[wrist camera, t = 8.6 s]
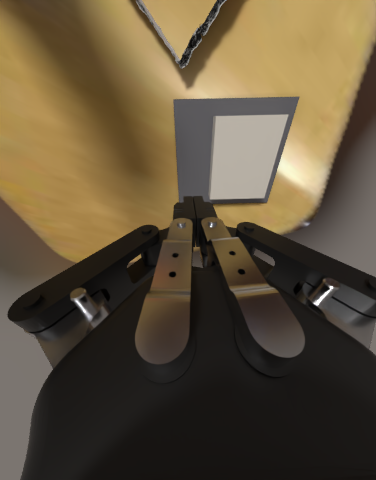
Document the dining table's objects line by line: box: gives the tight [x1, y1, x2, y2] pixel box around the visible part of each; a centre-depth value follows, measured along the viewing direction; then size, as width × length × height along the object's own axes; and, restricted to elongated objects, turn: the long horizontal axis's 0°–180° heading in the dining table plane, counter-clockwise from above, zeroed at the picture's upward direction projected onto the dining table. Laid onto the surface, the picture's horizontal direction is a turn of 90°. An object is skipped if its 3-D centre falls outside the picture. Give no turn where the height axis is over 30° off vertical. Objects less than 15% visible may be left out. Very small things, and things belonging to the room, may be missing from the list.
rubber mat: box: [174, 97, 299, 204], centre depth 27 cm, size 18×16×1 cm
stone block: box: [208, 114, 289, 200], centre depth 26 cm, size 2×12×10 cm
